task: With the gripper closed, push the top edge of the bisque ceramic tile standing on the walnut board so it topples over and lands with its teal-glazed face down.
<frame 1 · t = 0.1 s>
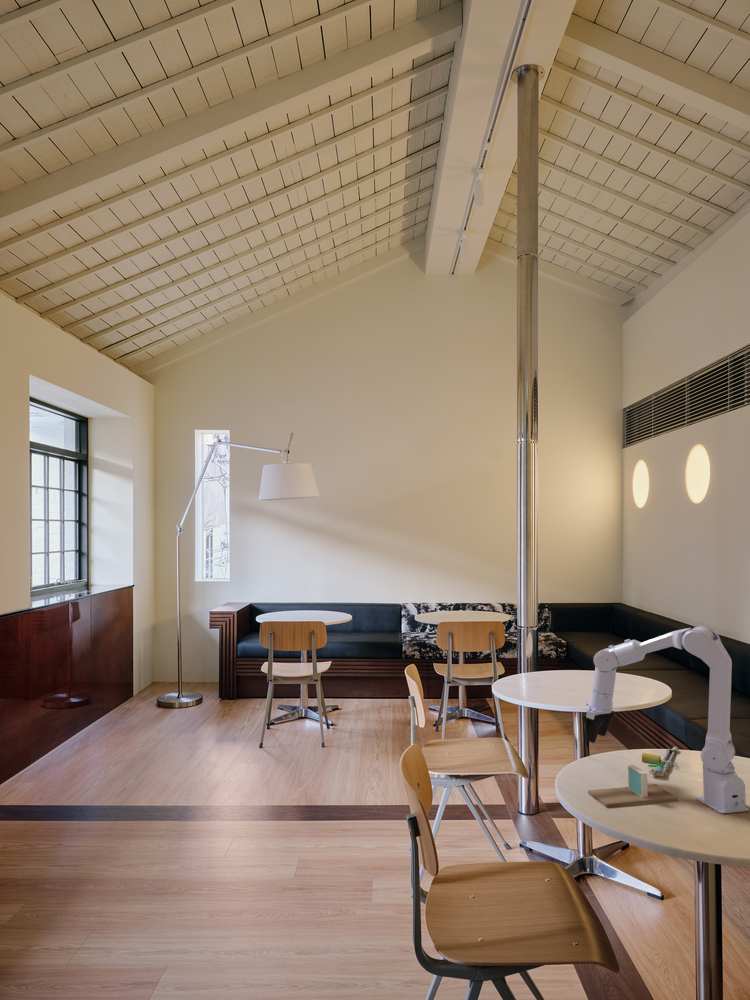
hand: (595, 738, 186), 11 cm above the table, tool pointing down, fingers open, 7 cm apart
flamethrower: (660, 764, 196), on the table
board: (632, 797, 170), on the table
tile: (638, 792, 171), point 1 cm above the table, touching board
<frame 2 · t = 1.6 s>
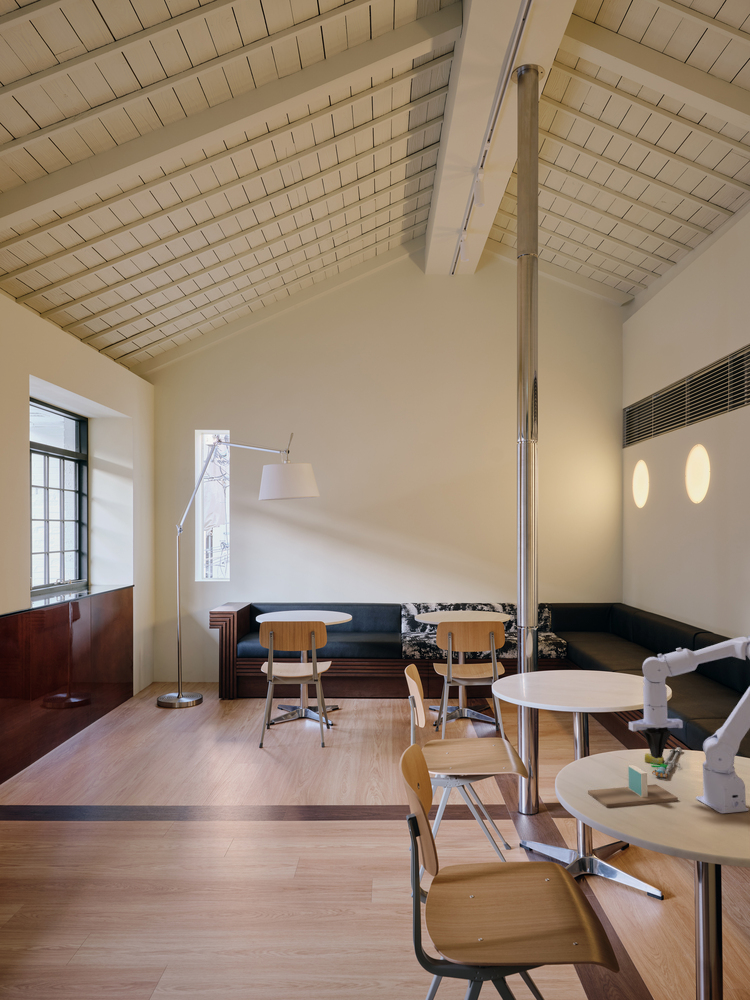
hand: (656, 756, 172), 10 cm above the table, tool pointing down, fingers closed
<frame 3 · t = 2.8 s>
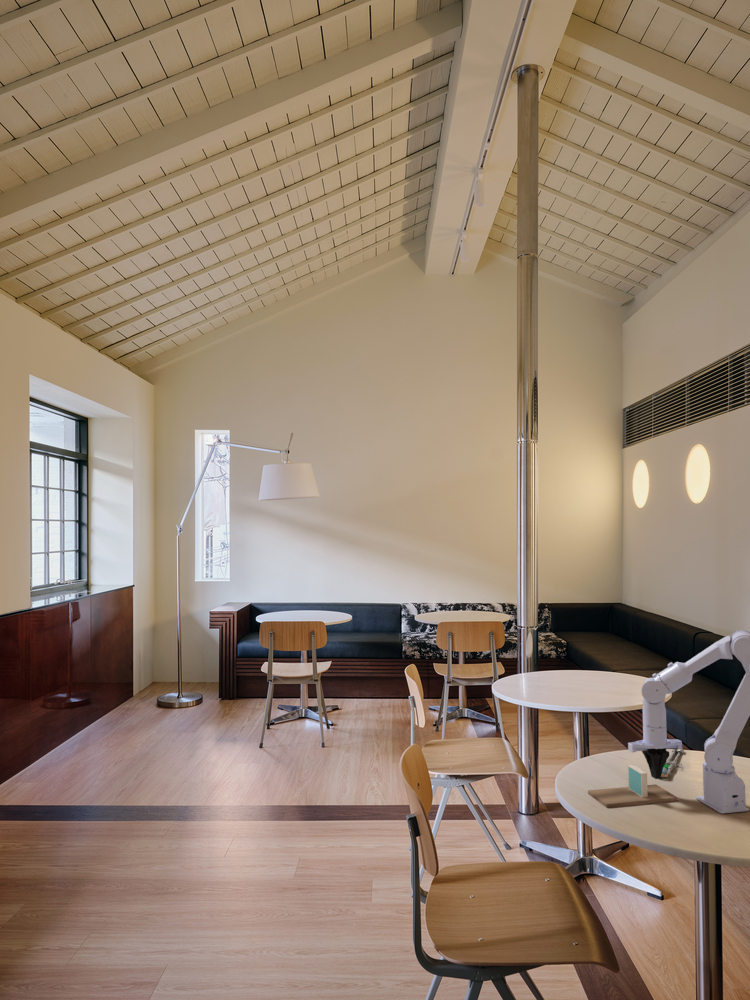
hand: (655, 777, 173), 4 cm above the table, tool pointing down, fingers closed
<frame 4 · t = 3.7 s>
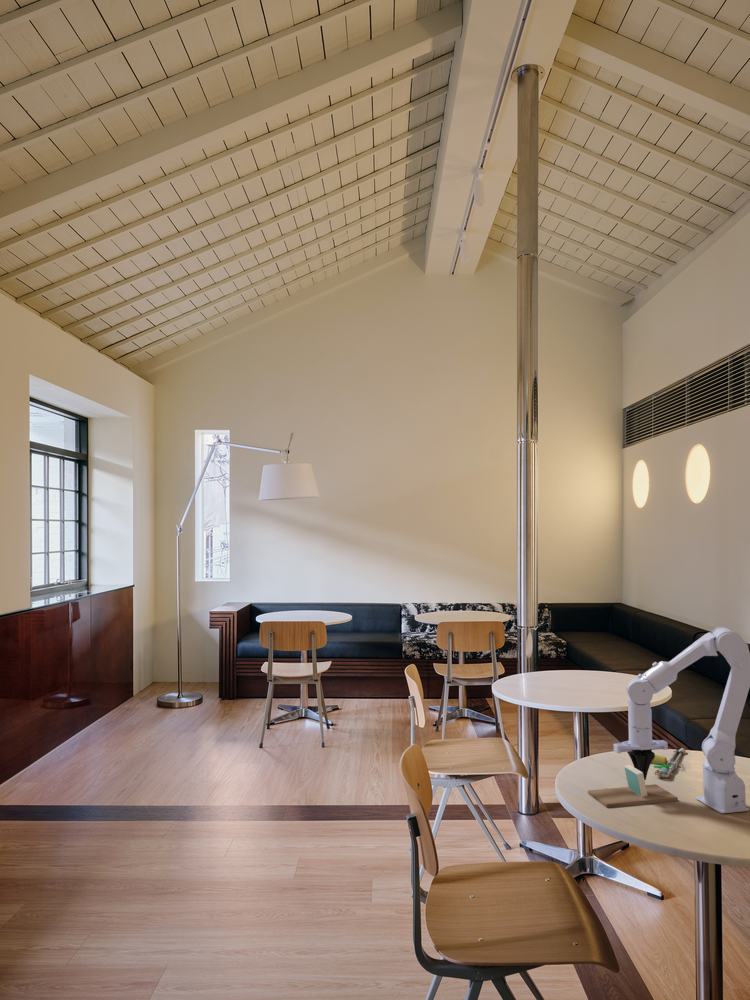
hand: (641, 778, 172), 4 cm above the table, tool pointing down, fingers closed
tile: (637, 791, 171), point 1 cm above the table, tilted 11°, touching board, gripper
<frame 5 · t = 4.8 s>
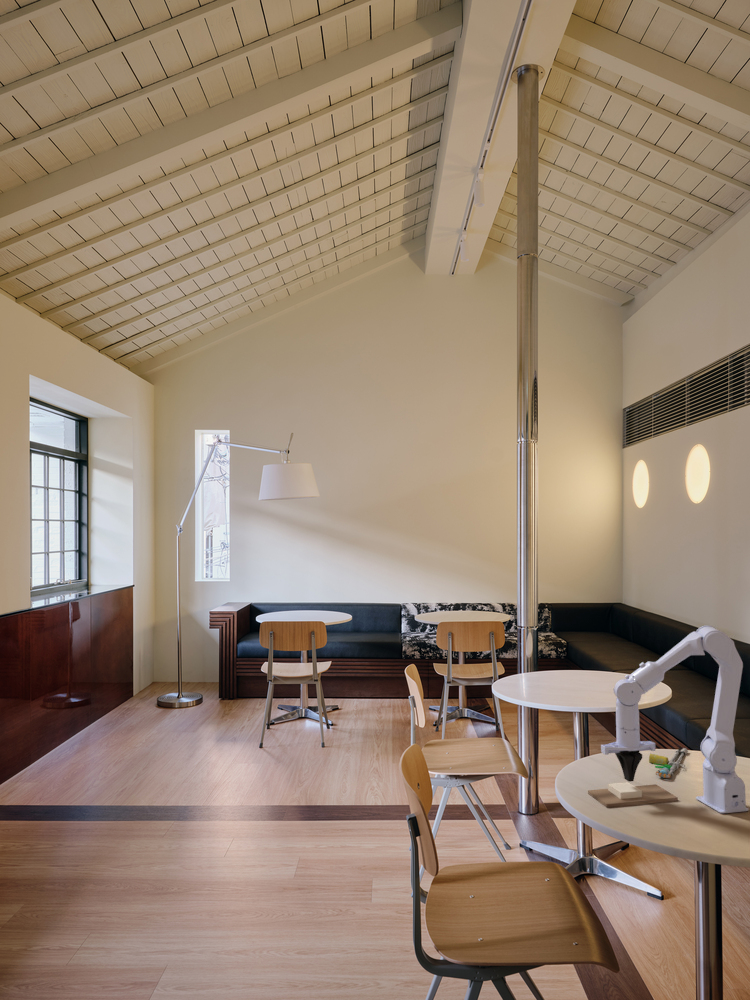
hand: (629, 780, 171), 4 cm above the table, tool pointing down, fingers closed
tile: (635, 789, 171), point 2 cm above the table, tilted 90°, touching board
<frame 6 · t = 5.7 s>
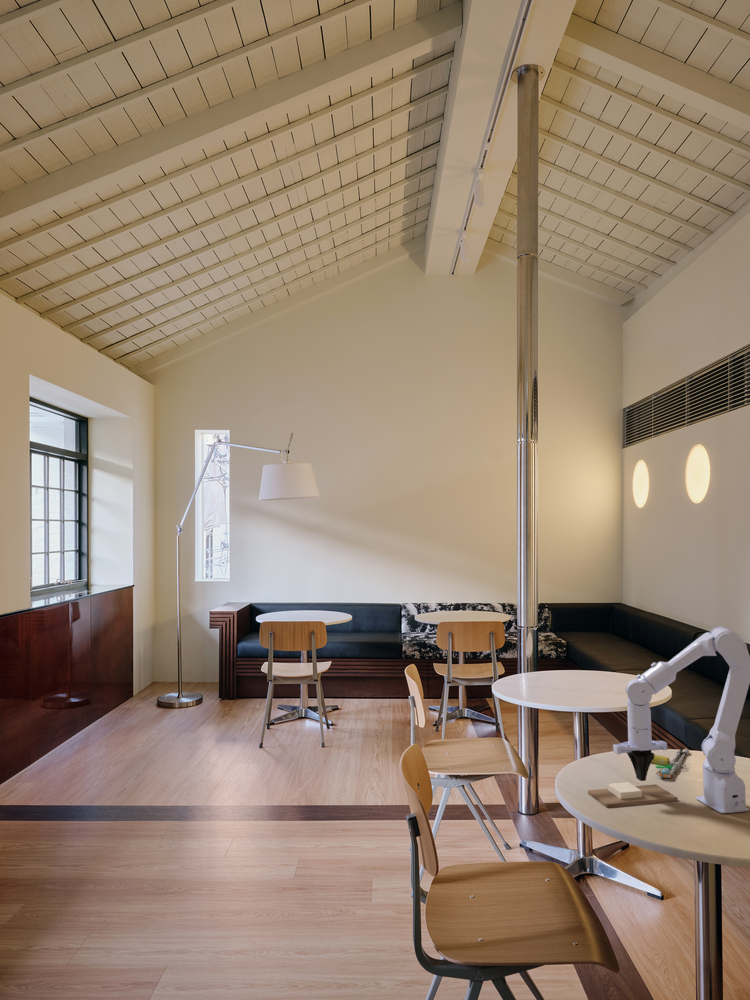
hand: (641, 779, 172), 4 cm above the table, tool pointing down, fingers closed
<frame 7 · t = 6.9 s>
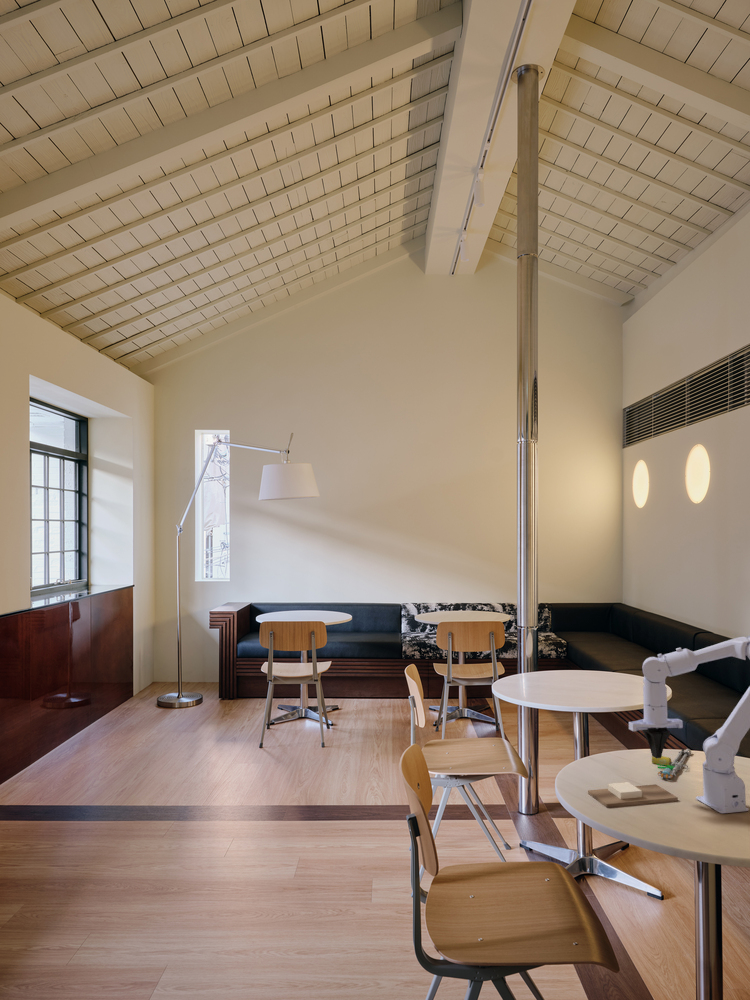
hand: (656, 756, 172), 10 cm above the table, tool pointing down, fingers closed
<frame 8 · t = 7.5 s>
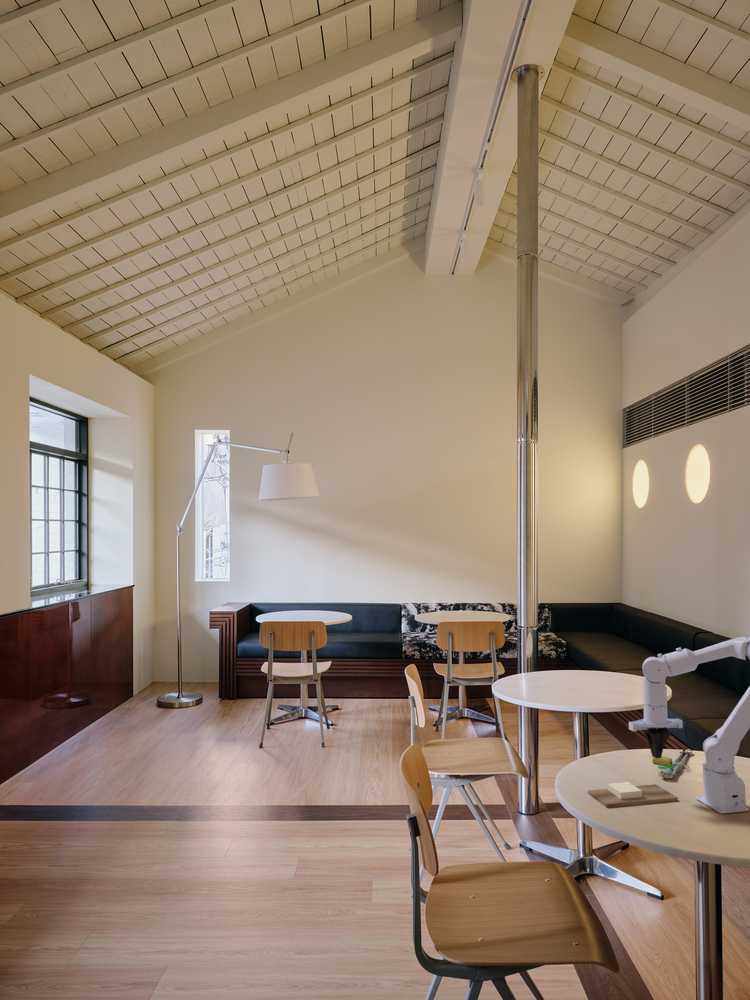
hand: (656, 756, 172), 10 cm above the table, tool pointing down, fingers closed
at the end: tile tilted 90°; tile inside the target area (3.9 cm from its centre), point 1.6 cm above the table; tile point 1.6 cm above the table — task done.
